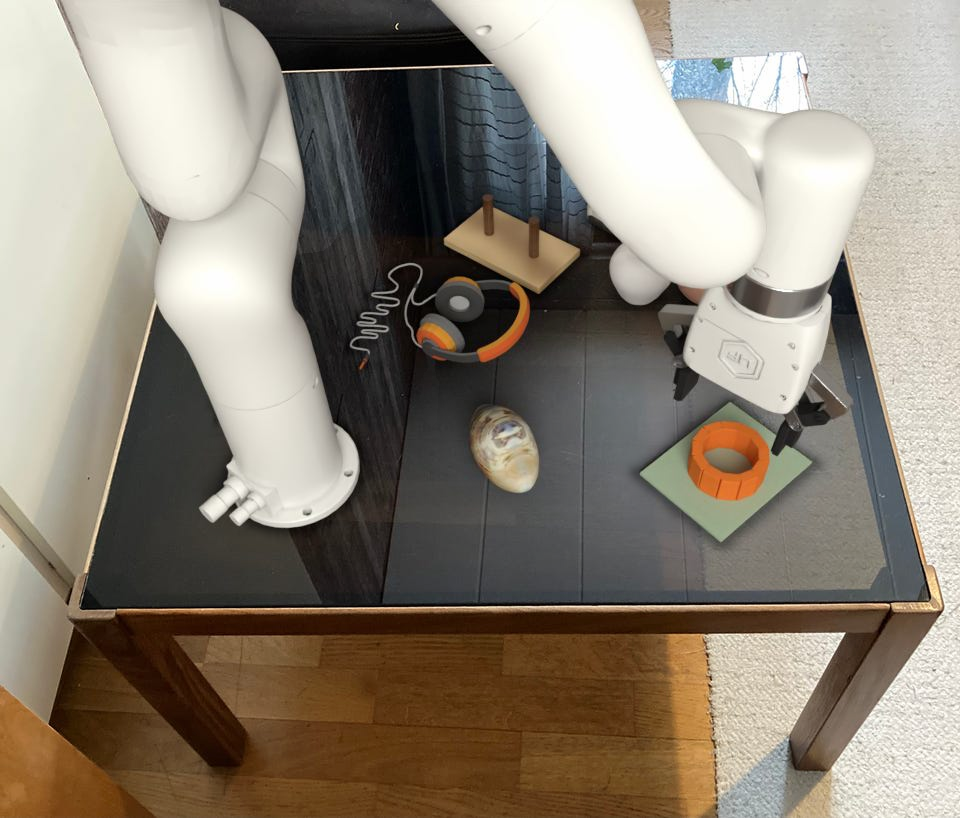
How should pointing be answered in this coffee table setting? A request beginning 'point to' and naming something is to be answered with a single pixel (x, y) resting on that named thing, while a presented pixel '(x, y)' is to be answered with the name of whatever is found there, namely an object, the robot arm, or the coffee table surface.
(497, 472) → the seashell
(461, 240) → the ring board
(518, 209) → the coffee table surface
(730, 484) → the ring
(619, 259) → the plain white apple
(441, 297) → the headphones
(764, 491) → the mat
